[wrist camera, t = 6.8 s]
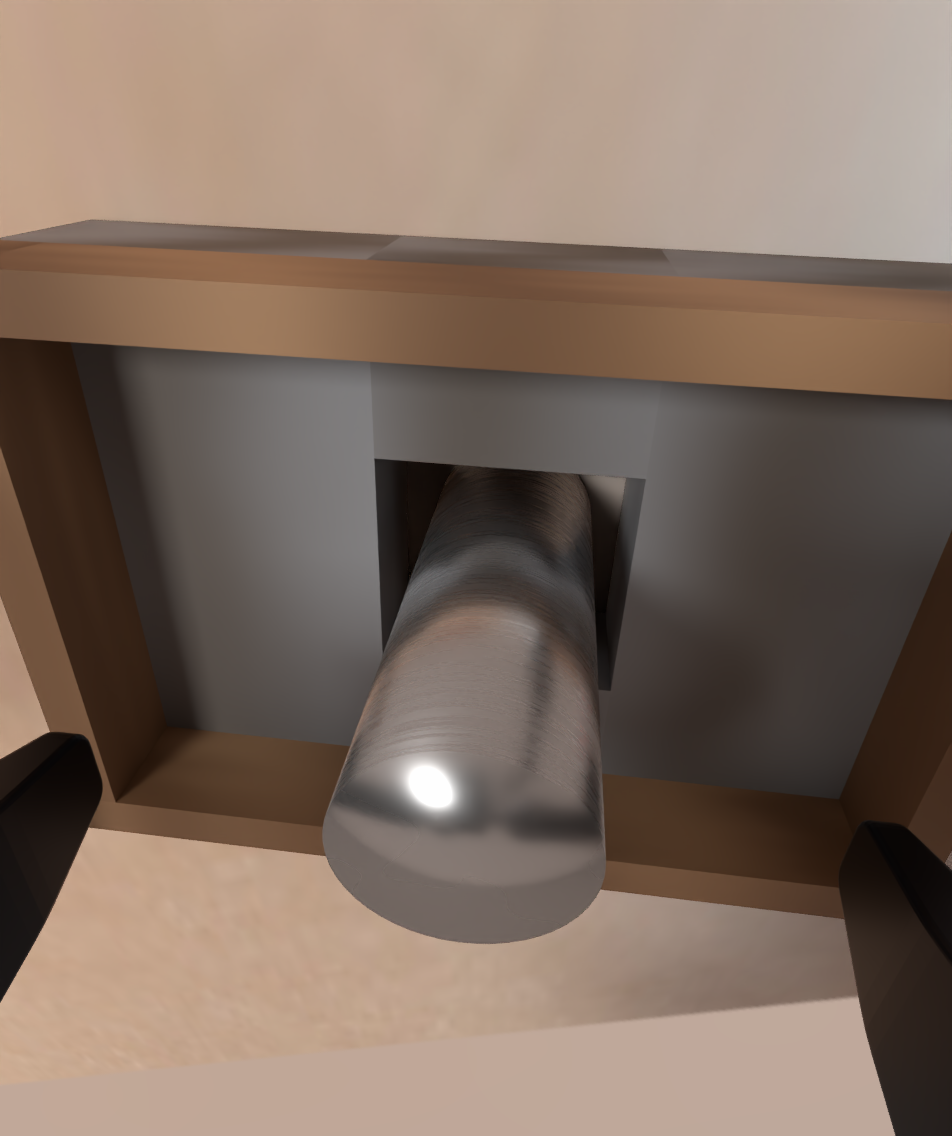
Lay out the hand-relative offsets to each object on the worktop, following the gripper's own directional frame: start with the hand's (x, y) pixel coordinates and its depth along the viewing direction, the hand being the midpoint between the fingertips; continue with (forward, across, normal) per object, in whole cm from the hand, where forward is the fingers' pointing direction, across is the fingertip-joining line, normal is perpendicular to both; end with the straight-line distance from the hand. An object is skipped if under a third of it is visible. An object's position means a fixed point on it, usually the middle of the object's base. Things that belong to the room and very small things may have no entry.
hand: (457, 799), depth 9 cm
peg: (+7, 0, 0) cm, 7 cm away
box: (+7, 0, 0) cm, 7 cm away
